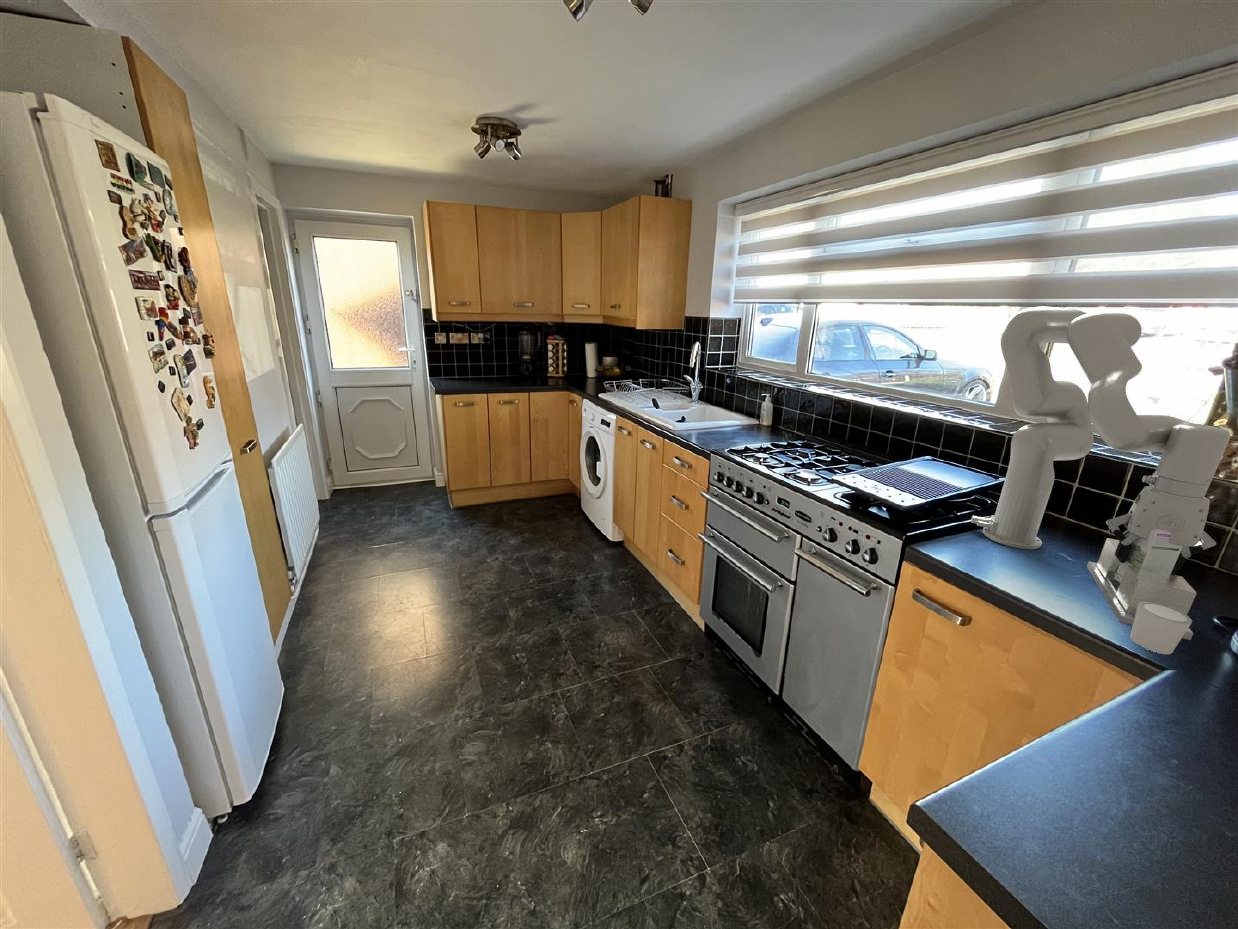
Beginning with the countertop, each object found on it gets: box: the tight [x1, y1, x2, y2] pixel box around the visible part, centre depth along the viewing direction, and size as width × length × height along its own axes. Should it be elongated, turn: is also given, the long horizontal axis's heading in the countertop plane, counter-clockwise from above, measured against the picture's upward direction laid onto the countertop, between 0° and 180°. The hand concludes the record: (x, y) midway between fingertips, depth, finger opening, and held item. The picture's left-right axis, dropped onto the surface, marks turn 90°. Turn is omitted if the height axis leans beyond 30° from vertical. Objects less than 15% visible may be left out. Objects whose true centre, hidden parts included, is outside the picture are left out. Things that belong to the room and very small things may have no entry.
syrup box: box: [1113, 529, 1183, 583], centre depth 104 cm, size 6×6×14 cm
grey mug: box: [1129, 602, 1193, 655], centre depth 91 cm, size 7×7×7 cm
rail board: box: [1086, 537, 1197, 641], centre depth 106 cm, size 10×26×9 cm, turn 149°
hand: (1145, 565), depth 105 cm, fingers closed on syrup box, 7 cm apart
